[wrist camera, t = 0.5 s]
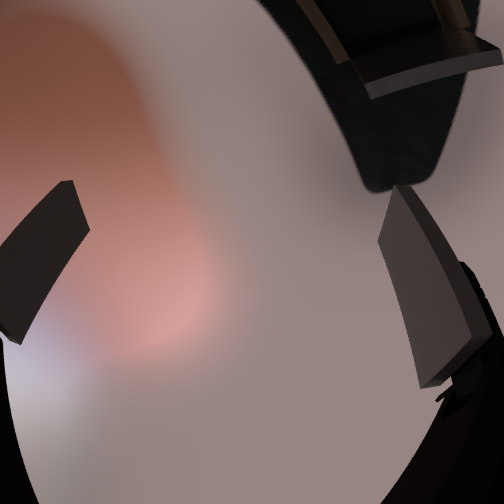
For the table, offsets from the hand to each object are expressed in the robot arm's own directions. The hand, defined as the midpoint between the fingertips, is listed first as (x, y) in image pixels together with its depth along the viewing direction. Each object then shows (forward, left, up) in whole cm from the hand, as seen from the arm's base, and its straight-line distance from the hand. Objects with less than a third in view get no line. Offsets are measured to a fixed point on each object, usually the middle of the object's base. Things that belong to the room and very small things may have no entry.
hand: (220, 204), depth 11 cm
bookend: (-14, +5, -29) cm, 33 cm away
